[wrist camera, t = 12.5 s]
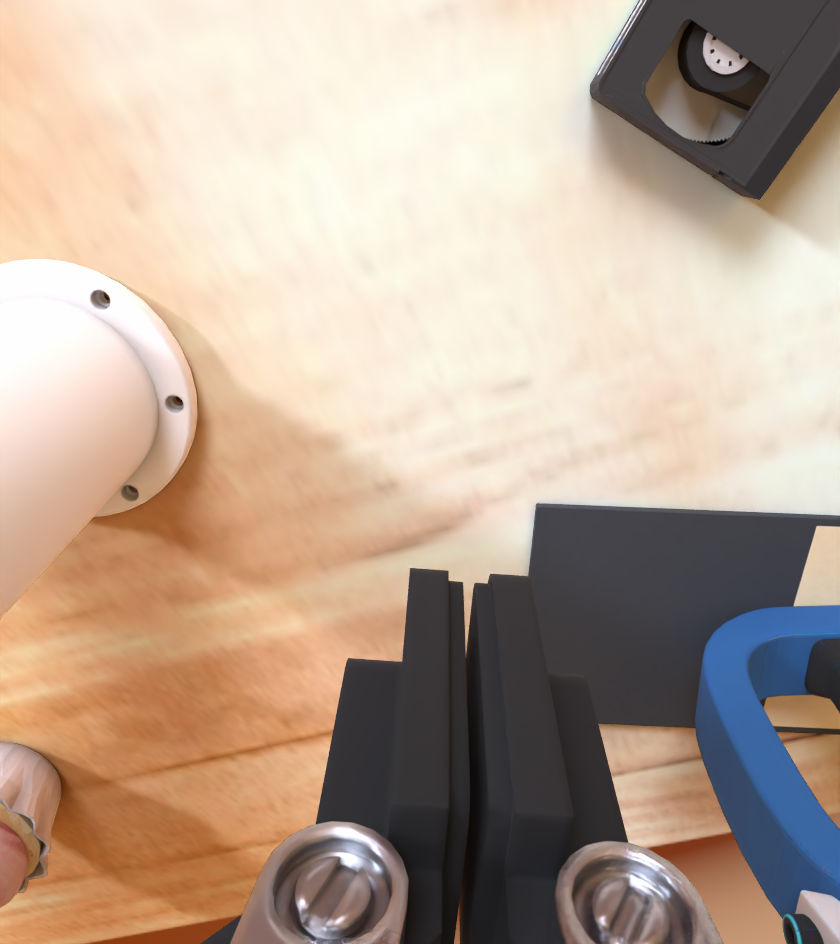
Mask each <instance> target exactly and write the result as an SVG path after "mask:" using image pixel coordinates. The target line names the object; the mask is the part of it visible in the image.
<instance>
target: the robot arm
mask: <svg viewBox="0 0 840 944" xmlns="http://www.w3.org/2000/svg"><path fill="white" fill-rule="evenodd" d="M104 292H105V293H106V294H108V295H109V298H110V300H111V301H107V300H106V299H105V297H104ZM176 396H177V397H179V398H180V399H181V400H182V401H183V403H181V402H178V401H177V400H176ZM197 417H198V413H197V394H196V389H195V385H194V381H193V377H192V373H191V369H190V367H189V365H188V362H187V360H186V358H185V356H184V354H183V351H182V349H181V347H180V345H179V343H178V342H177V340H176V339H175V338H174V336H173V335H172V333H171V332H170V330H169V329H168V327H167V326H166V324H165V323H164V322H163V321H162V319H161V318H160V317H159V316H158V315H157V314H156V313H155V312H154V311H153V310H152V309H151V308H150V307H149V306H148V305H147V304H146V303H145V302H144V301H143V300H142V299H140V298H139V297H138V296H136V295H135V294H134V293H132V292H131V291H130V290H128V289H127V288H126V287H124V286H123V285H122V284H120V283H118V282H116V281H114V280H112V279H110V278H108V277H107V276H105V275H103V274H101V273H99V272H97V271H94V270H91V269H88V268H85V267H82V266H79V265H76V264H73V263H70V262H63V261H55V260H48V259H31V260H16V261H13V262H9V263H5V264H1V265H0V619H1V618H2V617H3V616H4V615H5V614H6V613H7V612H8V610H9V609H10V608H11V607H12V606H13V605H14V604H15V603H16V602H17V601H18V599H19V598H20V597H21V596H22V595H23V594H24V593H25V592H26V591H27V590H28V588H29V587H30V586H31V585H32V584H33V583H34V582H35V581H36V580H37V578H38V577H39V576H40V575H41V574H42V573H43V572H44V571H45V570H46V569H47V567H48V566H49V565H50V564H51V563H52V562H53V561H54V560H55V559H56V558H57V556H58V555H59V554H60V553H61V552H62V551H63V550H64V549H65V548H66V547H67V545H68V544H69V543H70V542H71V541H72V540H73V539H74V538H75V537H76V536H77V534H78V533H79V532H80V531H81V530H82V529H83V528H84V527H85V526H86V525H87V523H88V522H89V521H90V520H91V519H92V518H93V517H98V516H107V515H111V514H116V513H120V512H124V511H127V510H129V509H132V508H134V507H136V506H138V505H140V504H143V503H145V502H146V501H148V500H149V499H150V498H152V497H153V496H154V495H156V494H157V493H159V492H160V491H161V490H162V489H163V488H164V487H165V486H166V485H167V484H168V483H169V481H170V480H171V479H172V478H173V477H174V476H175V474H176V473H177V471H178V470H179V469H180V467H181V466H182V464H183V463H184V461H185V460H186V458H187V456H188V453H189V451H190V448H191V445H192V443H193V440H194V437H195V430H196V424H197ZM133 486H134V487H135V488H134V487H133ZM459 904H460V906H459ZM458 906H459V907H460V908H459V909H460V944H724V943H723V941H722V939H721V937H720V935H719V933H718V931H717V928H716V927H715V924H714V922H713V921H712V918H711V916H710V914H709V912H708V910H707V908H706V906H705V904H704V902H703V900H702V899H701V898H700V896H699V894H698V892H697V891H696V889H695V888H694V886H693V885H692V883H691V882H690V880H689V879H687V878H686V877H685V876H684V875H683V874H682V873H681V872H680V871H679V870H678V869H677V868H676V867H675V866H674V865H673V864H672V863H671V862H669V861H667V860H666V859H664V858H662V857H661V856H659V855H657V854H656V853H654V852H653V851H651V850H648V849H646V848H643V847H640V846H637V845H634V844H631V843H628V840H627V836H626V832H625V828H624V824H623V820H622V816H621V812H620V808H619V805H618V801H617V797H616V793H615V789H614V785H613V781H612V777H611V773H610V769H609V765H608V761H607V757H606V753H605V749H604V745H603V741H602V737H601V733H600V730H599V726H598V722H597V718H596V714H595V710H594V706H593V702H592V698H591V694H590V690H589V686H588V684H587V681H586V678H585V677H584V676H583V675H578V674H564V673H550V672H547V667H546V661H545V656H544V650H543V645H542V639H541V634H540V629H539V623H538V618H537V612H536V607H535V602H534V596H533V591H532V585H531V580H530V577H528V576H515V575H500V574H490V576H489V580H488V584H482V583H475V584H474V589H473V597H472V606H471V615H470V625H469V634H468V643H467V652H466V653H465V624H464V596H463V582H454V581H448V571H443V570H429V569H415V568H410V577H409V589H408V601H407V613H406V625H405V637H404V648H403V660H402V662H394V661H380V660H366V659H352V658H348V660H347V663H346V667H345V672H344V677H343V682H342V688H341V693H340V698H339V704H338V709H337V714H336V720H335V725H334V730H333V735H332V741H331V746H330V751H329V757H328V762H327V767H326V773H325V778H324V783H323V788H322V794H321V799H320V804H319V810H318V815H317V820H316V825H311V826H308V827H306V828H304V829H302V830H300V831H298V832H296V833H294V834H292V835H290V836H289V837H288V838H287V839H285V840H284V841H283V842H282V843H281V844H280V845H279V846H278V847H277V848H275V849H274V850H273V851H272V853H271V855H270V856H269V858H268V860H267V861H266V863H265V865H264V866H263V868H262V869H261V871H260V874H259V876H258V879H257V881H256V883H255V886H254V888H253V890H252V893H251V895H250V898H249V900H248V902H247V905H246V907H245V910H244V912H243V914H242V915H240V916H239V917H237V918H236V919H235V920H233V921H232V922H230V923H229V924H228V925H226V926H225V927H223V928H222V929H221V930H219V931H218V932H216V933H215V934H214V935H212V936H211V937H210V938H208V939H207V940H205V941H204V942H202V943H201V944H454V938H455V930H456V922H457V914H458Z"/></svg>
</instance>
